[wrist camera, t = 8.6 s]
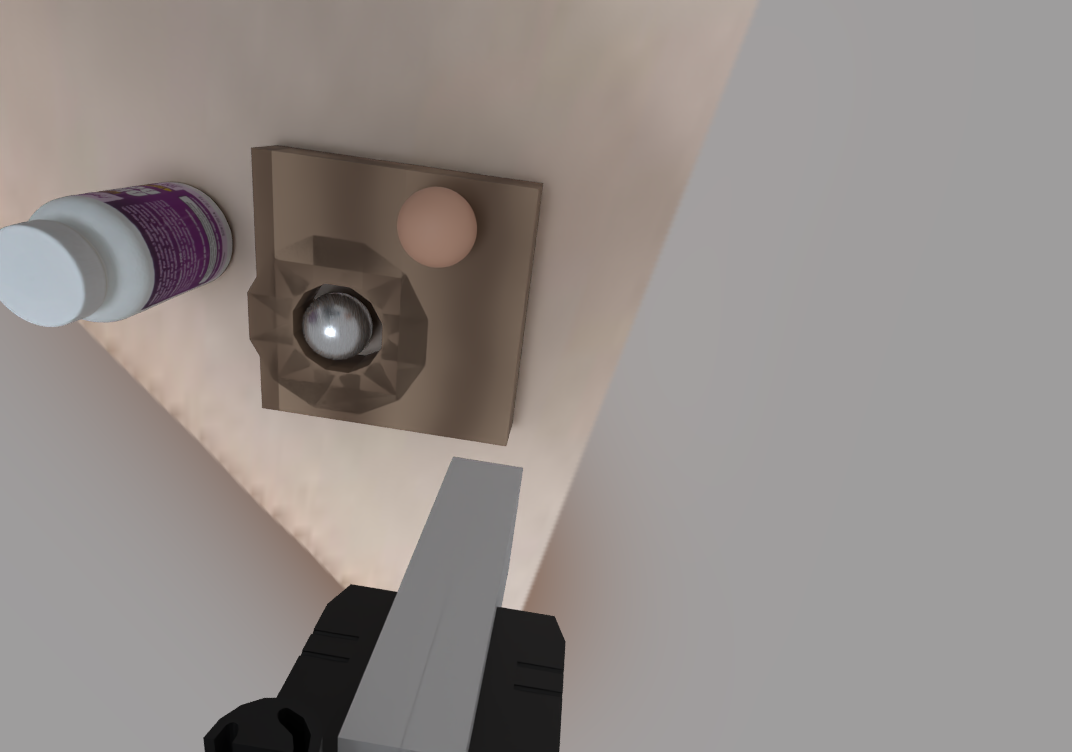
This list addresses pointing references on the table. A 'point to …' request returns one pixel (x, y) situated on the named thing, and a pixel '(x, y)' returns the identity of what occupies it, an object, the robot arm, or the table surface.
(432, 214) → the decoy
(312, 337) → the ball
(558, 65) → the table surface
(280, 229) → the brown flat square slab
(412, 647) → the robot arm
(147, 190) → the pill bottle
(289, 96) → the table surface
